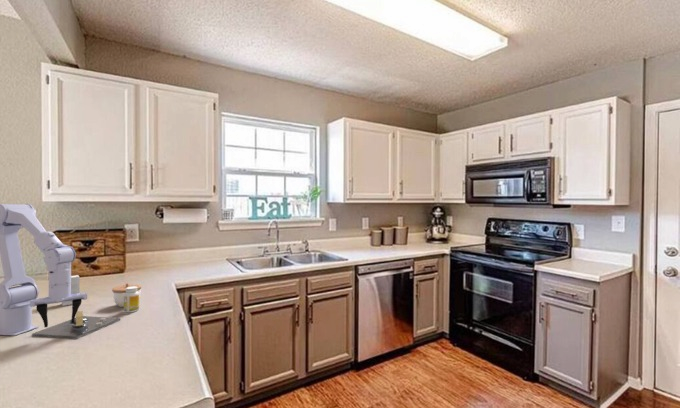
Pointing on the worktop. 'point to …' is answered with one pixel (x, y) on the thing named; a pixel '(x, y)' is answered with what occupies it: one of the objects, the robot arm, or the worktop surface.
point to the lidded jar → (122, 293)
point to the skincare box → (73, 288)
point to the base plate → (76, 328)
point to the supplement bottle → (131, 300)
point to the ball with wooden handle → (79, 319)
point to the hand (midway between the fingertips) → (59, 324)
